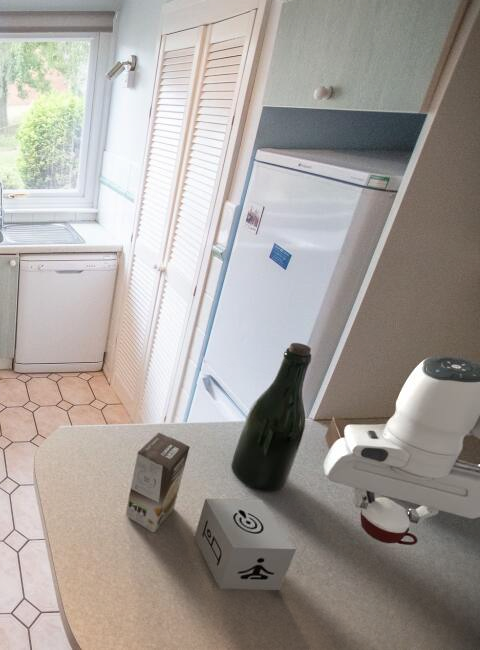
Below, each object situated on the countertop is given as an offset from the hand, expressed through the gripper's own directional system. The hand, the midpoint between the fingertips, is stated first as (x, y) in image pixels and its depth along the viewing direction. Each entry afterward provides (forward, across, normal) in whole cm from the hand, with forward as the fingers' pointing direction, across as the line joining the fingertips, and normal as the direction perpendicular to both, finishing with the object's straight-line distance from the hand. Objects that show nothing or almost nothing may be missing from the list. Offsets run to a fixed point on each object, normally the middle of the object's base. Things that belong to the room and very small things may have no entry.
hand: (385, 512), depth 79 cm
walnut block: (+10, -6, -30) cm, 32 cm away
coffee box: (+10, +36, +8) cm, 39 cm away
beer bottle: (+10, +16, -13) cm, 23 cm away
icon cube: (+10, +22, +13) cm, 27 cm away
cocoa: (+5, 0, 0) cm, 5 cm away
